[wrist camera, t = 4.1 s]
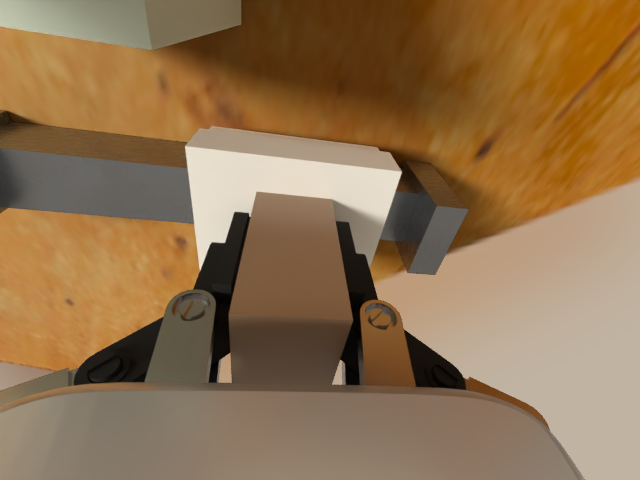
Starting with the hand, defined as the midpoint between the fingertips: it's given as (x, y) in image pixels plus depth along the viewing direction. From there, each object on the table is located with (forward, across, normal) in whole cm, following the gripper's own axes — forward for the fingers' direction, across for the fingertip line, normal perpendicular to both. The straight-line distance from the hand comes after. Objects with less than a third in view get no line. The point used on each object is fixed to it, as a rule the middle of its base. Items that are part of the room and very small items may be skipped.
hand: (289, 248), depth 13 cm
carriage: (+5, 0, 0) cm, 5 cm away
